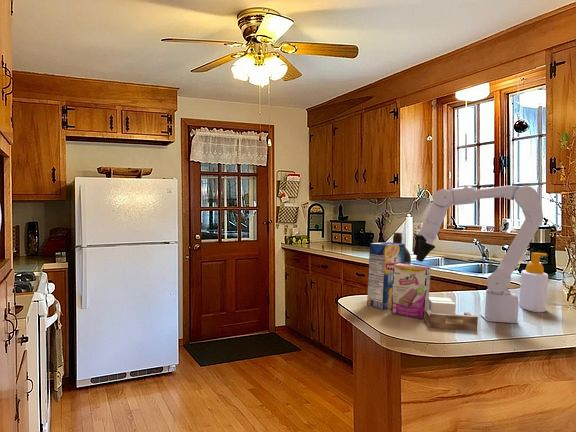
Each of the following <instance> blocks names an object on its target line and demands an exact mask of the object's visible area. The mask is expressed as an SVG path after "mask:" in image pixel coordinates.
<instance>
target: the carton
mask: <svg viewBox="0 0 576 432" xmlns="http://www.w3.org/2000/svg"><path fill="white" fill-rule="evenodd" d="M428 310H430V311H431V312H432V313H440V314H455V315H456V303H455V302H454V301H453V300H452V299H451V298H450V297H438V296H429V304H428Z"/></svg>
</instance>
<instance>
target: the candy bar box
mask: <svg viewBox="0 0 576 432" xmlns="http://www.w3.org/2000/svg"><path fill="white" fill-rule="evenodd" d="M431 270H432V268H431V267H430V266H423V265H415V264H410V265H409V264H400V263H398V264H395V265H394V270H393V287H392V305H391V308H390V313H391V314H392V315H393V314H394V315H400V316H405V317H410V318H417V319H421V320H425V310H428V304H429V297H430V287H431V284H430V283H431Z"/></svg>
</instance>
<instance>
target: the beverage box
mask: <svg viewBox="0 0 576 432" xmlns="http://www.w3.org/2000/svg"><path fill="white" fill-rule="evenodd" d="M405 245H406V244H405V243H402V244H399V243H393V242H392V241H391V242H390V241H387V242H370V243H369V255H368V256H369V258H368V274H367V275H368V277H367V300H366V305H367V306H368V307H372V308H376V309H379V310H387V309H391V305H392V287H393V270H394V265H395V264H398V263H400V264H404V252H405V248H406V246H405Z"/></svg>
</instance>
